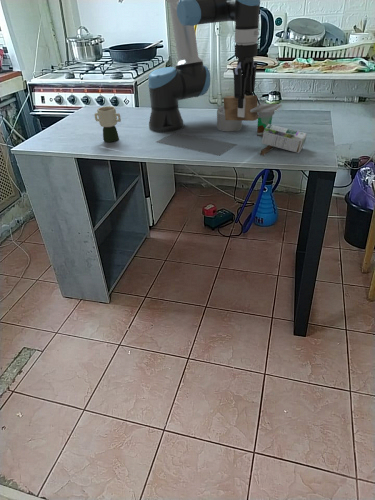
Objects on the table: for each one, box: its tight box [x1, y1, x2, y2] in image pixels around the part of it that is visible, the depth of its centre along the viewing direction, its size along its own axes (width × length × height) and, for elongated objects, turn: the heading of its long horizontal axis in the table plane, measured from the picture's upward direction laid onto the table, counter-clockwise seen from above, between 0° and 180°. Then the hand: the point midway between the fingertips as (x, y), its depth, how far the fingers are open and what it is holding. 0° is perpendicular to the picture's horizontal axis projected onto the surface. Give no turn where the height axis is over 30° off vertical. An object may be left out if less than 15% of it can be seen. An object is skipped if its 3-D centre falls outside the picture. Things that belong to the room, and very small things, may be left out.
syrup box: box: [261, 124, 307, 154], centre depth 139 cm, size 6×6×14 cm
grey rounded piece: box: [216, 105, 243, 132], centre depth 162 cm, size 10×13×9 cm
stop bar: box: [259, 145, 275, 156], centre depth 140 cm, size 1×12×2 cm, turn 144°
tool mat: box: [155, 131, 238, 156], centre depth 149 cm, size 30×13×1 cm, turn 55°
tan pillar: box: [223, 94, 282, 122], centre depth 137 cm, size 20×8×8 cm, turn 55°
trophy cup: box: [93, 105, 122, 143], centre depth 153 cm, size 11×7×13 cm, turn 77°
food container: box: [256, 111, 275, 137], centre depth 153 cm, size 12×6×10 cm, turn 168°
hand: (243, 115), depth 140 cm, fingers closed on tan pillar, 3 cm apart
